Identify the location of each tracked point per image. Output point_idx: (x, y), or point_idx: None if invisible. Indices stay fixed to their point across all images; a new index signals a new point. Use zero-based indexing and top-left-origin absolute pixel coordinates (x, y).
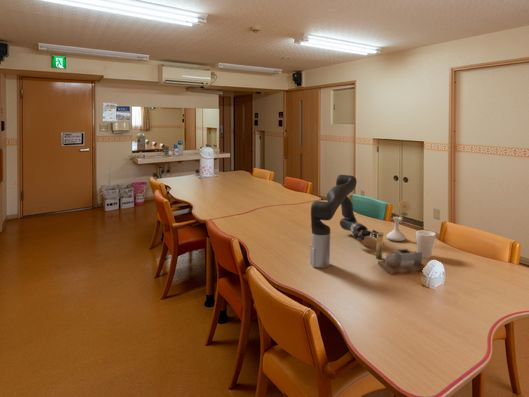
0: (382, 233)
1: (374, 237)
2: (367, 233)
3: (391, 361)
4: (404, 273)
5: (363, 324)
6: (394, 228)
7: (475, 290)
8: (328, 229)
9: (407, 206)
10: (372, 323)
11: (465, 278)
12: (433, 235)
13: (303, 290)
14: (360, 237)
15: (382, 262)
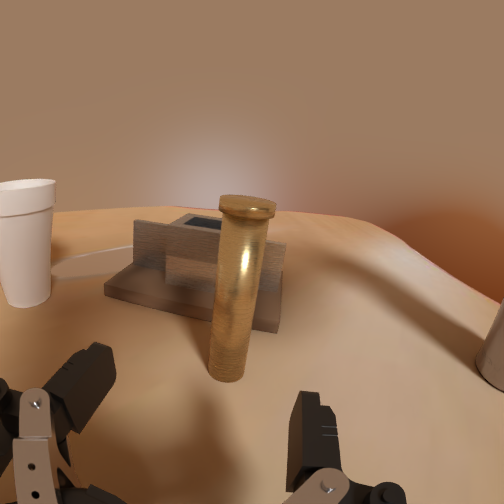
0: (235, 196)
1: (79, 433)
2: (118, 500)
3: (371, 228)
4: None
5: (389, 244)
6: None
7: (164, 221)
8: None
9: None
10: (379, 242)
11: (124, 231)
12: (37, 179)
13: (483, 296)
14: (332, 440)
15: (267, 309)
